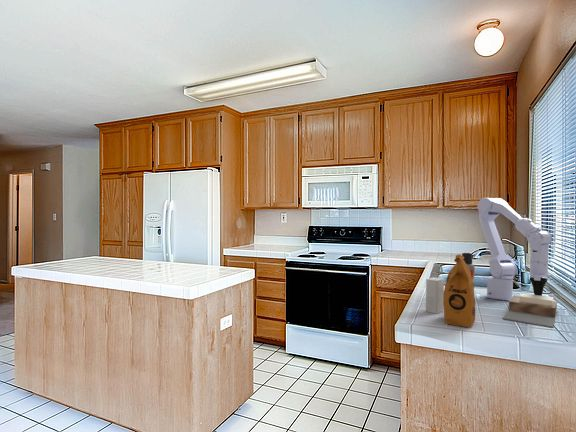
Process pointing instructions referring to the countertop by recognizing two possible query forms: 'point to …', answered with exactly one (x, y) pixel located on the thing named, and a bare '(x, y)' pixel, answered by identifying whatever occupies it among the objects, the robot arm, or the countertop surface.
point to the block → (536, 299)
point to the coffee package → (459, 295)
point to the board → (532, 307)
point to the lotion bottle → (469, 264)
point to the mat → (530, 318)
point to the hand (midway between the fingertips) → (538, 296)
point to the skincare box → (434, 295)
